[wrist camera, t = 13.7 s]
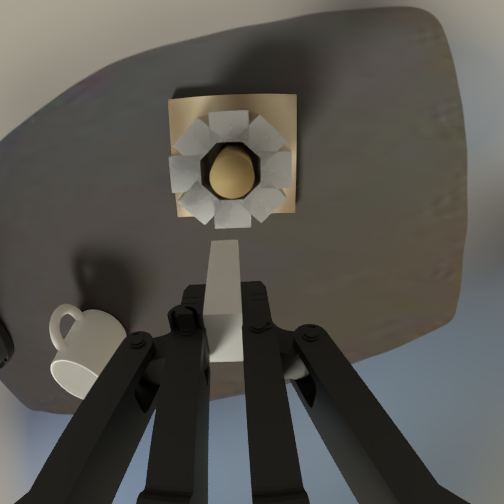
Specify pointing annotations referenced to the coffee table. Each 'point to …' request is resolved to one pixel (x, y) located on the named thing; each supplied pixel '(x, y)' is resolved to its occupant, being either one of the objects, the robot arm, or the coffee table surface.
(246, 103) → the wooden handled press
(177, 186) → the studded hollow tube
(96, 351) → the mug
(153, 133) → the coffee table surface
